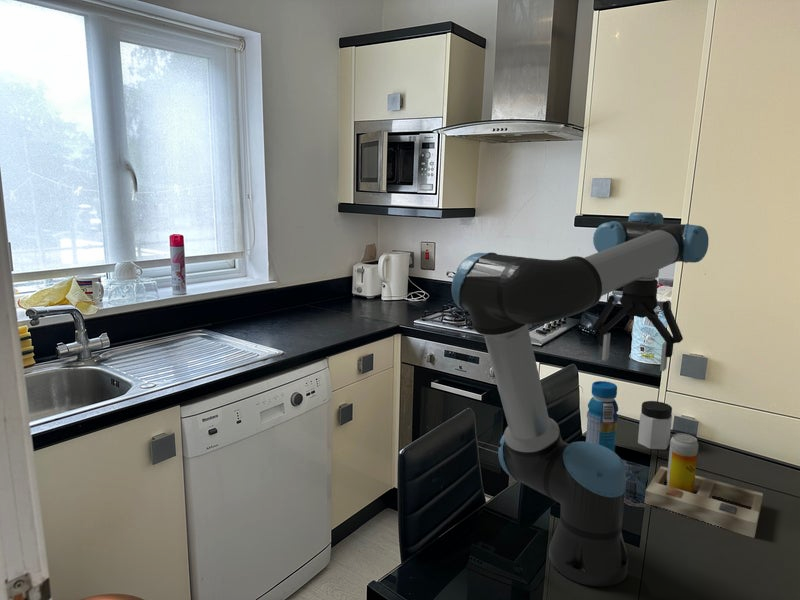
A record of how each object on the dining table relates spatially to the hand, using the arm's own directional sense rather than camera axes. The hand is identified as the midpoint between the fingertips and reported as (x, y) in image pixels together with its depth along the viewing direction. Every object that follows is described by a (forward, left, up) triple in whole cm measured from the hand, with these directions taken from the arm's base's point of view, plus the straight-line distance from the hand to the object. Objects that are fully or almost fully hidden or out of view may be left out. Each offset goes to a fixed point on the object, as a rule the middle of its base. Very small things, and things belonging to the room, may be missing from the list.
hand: (633, 364), depth 137 cm
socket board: (+14, -11, -32) cm, 37 cm away
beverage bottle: (+4, +20, -32) cm, 38 cm away
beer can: (+11, -6, -32) cm, 35 cm away
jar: (+22, +22, -32) cm, 45 cm away
